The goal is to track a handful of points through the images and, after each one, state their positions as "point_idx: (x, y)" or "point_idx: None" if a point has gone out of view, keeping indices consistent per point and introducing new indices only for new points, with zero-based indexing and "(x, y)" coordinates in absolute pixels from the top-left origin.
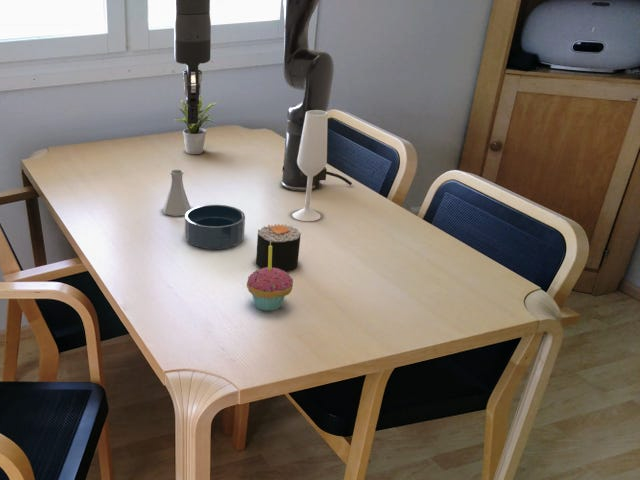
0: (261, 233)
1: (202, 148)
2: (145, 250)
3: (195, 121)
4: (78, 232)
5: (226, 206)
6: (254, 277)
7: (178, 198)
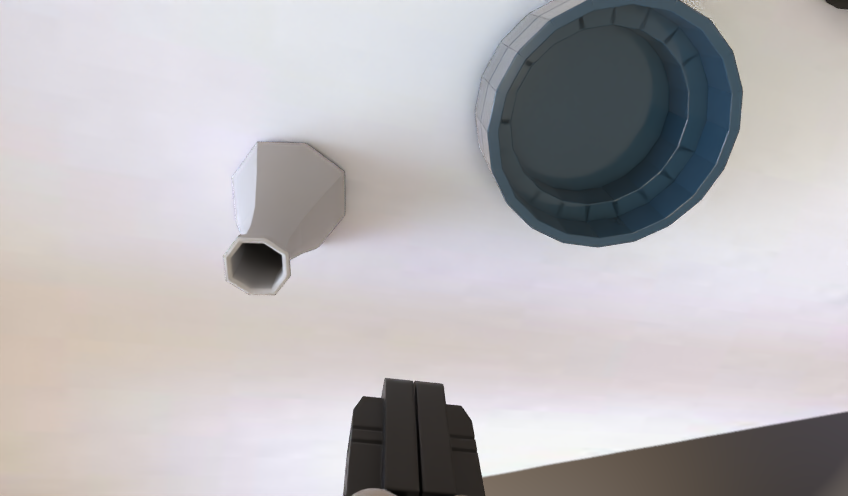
0: None
1: None
2: (593, 333)
3: (461, 409)
4: None
5: (530, 54)
6: None
7: (318, 220)
